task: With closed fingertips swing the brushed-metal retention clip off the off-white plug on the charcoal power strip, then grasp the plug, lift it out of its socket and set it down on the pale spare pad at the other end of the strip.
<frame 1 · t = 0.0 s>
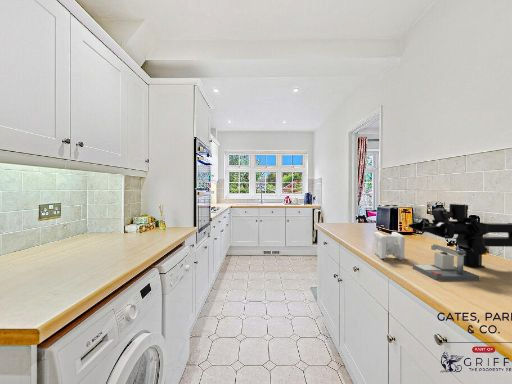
hand: (415, 227, 111), 17 cm above the countertop, tool horizontal, fingers open, 9 cm apart
cable organizer: (387, 257, 124), on the countertop
plug: (443, 267, 103), point 2 cm above the countertop, touching power strip
clip: (446, 257, 101), point 6 cm above the countertop, hinge at 0.0°
power strip: (443, 274, 100), on the countertop
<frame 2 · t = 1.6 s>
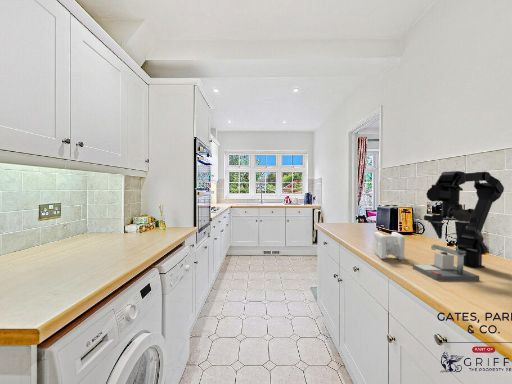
hand: (449, 238, 107), 13 cm above the countertop, tool pointing down, fingers open, 8 cm apart
nothing on the countertop moved.
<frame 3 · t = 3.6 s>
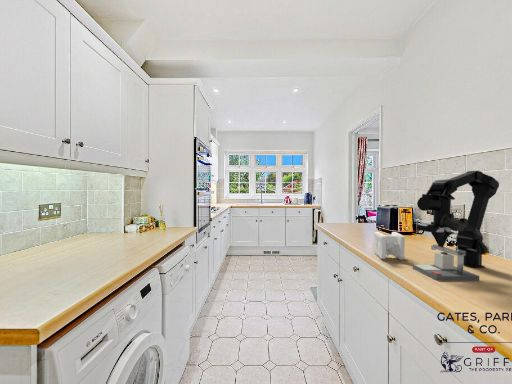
hand: (440, 247, 107), 9 cm above the countertop, tool pointing down, fingers closed
clip: (446, 257, 101), point 6 cm above the countertop, hinge at 0.1°, touching gripper
everything else where it was.
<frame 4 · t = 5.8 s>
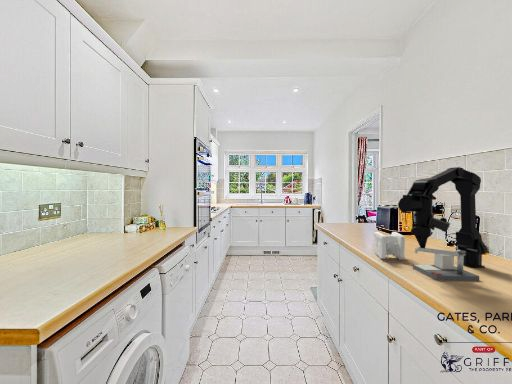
hand: (423, 249, 103), 9 cm above the countertop, tool pointing down, fingers closed
clip: (439, 259, 99), point 6 cm above the countertop, hinge at 52.6°, touching gripper
everything else where it was.
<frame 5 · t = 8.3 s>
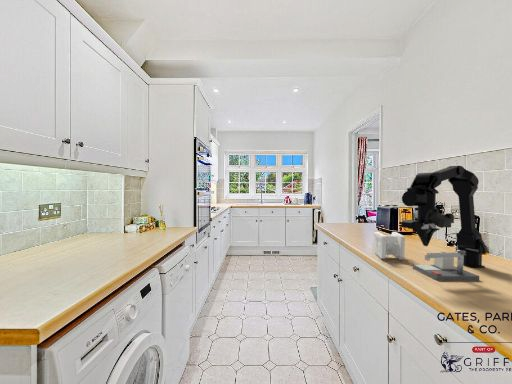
hand: (425, 246, 99), 11 cm above the countertop, tool pointing down, fingers closed
clip: (445, 262, 94), point 6 cm above the countertop, hinge at 97.4°
everything else where it was.
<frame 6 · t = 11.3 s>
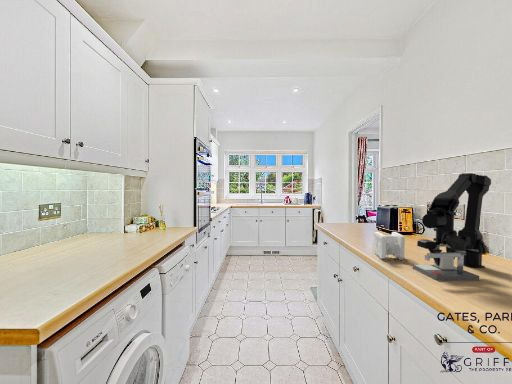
hand: (443, 265, 103), 3 cm above the countertop, tool pointing down, fingers closed on plug, 4 cm apart
plug: (443, 267, 103), point 2 cm above the countertop, touching gripper, power strip
everything else where it was.
when the fingers open (3 cm above the countertop, at t = 14.8 s): plug stays where it is, resting on power strip.
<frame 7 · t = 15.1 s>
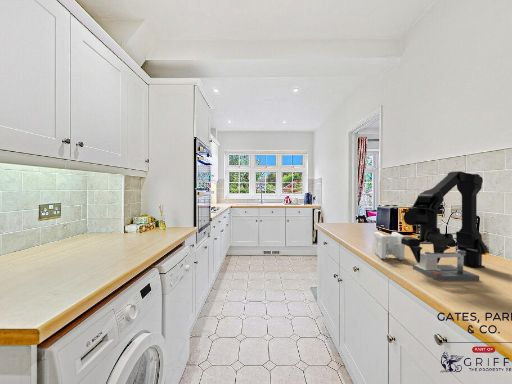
hand: (427, 263, 103), 3 cm above the countertop, tool pointing down, fingers open, 7 cm apart
plug: (427, 267, 103), point 2 cm above the countertop, touching power strip
everything else where it was.
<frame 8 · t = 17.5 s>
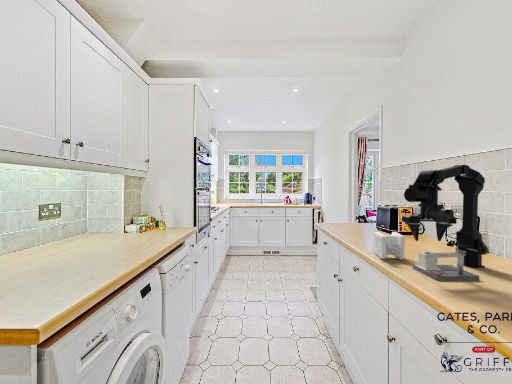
hand: (427, 240, 103), 12 cm above the countertop, tool pointing down, fingers open, 9 cm apart
nothing on the countertop moved.
at the end: clip at +97° (first picture: +0°); plug inside the target area (0.1 cm from its centre), point 1.8 cm above the countertop; plug tilted 0° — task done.
